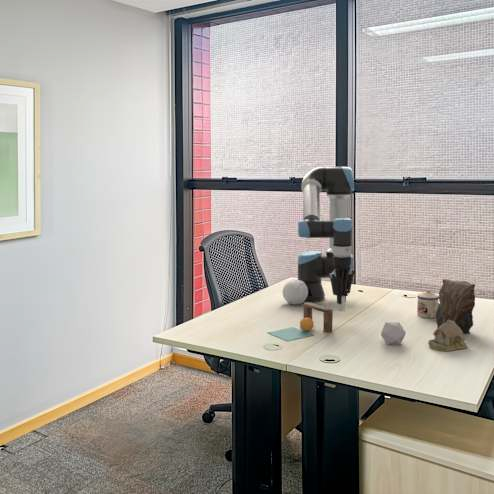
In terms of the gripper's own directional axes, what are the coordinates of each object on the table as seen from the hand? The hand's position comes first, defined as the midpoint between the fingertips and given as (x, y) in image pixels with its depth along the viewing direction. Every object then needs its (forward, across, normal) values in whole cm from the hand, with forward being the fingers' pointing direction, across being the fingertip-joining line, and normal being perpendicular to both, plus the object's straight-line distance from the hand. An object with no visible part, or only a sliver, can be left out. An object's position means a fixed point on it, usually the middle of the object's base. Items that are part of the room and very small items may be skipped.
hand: (341, 310), depth 235 cm
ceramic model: (+5, +10, -45) cm, 47 cm away
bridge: (+5, -13, 0) cm, 14 cm away
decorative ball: (+6, +4, +36) cm, 36 cm away
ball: (+2, -20, -1) cm, 20 cm away
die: (+5, -3, -32) cm, 32 cm away
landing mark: (+5, -27, 0) cm, 28 cm away
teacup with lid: (+6, +38, -16) cm, 41 cm away
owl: (+5, +27, -34) cm, 44 cm away
